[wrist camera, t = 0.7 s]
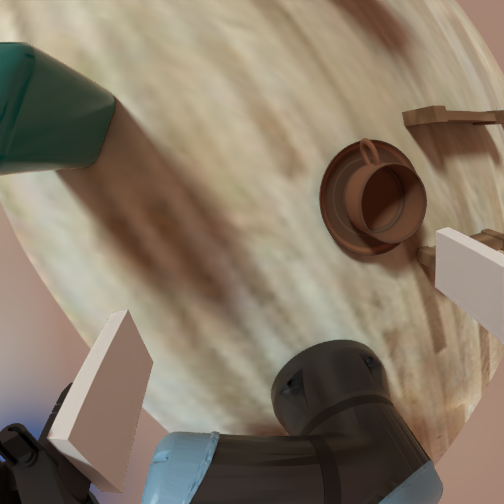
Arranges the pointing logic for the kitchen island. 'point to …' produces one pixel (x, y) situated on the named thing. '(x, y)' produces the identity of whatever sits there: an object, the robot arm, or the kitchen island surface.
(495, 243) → the brown wooden rail pair
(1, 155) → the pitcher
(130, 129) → the kitchen island surface
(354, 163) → the cup and saucer
